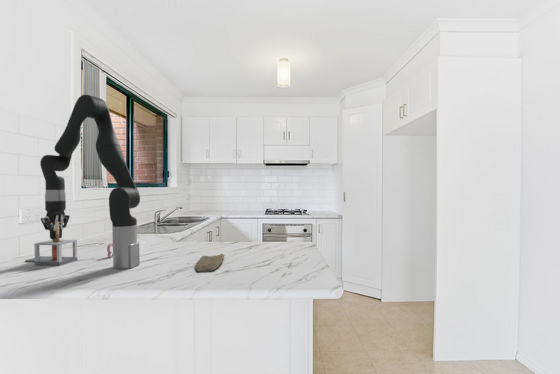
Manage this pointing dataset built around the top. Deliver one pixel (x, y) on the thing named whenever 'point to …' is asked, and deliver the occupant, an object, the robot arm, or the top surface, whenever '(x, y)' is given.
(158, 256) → the top surface
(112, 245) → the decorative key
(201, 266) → the stone tool
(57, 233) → the oak dowel
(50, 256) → the pad
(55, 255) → the plunger
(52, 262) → the grey open cage
